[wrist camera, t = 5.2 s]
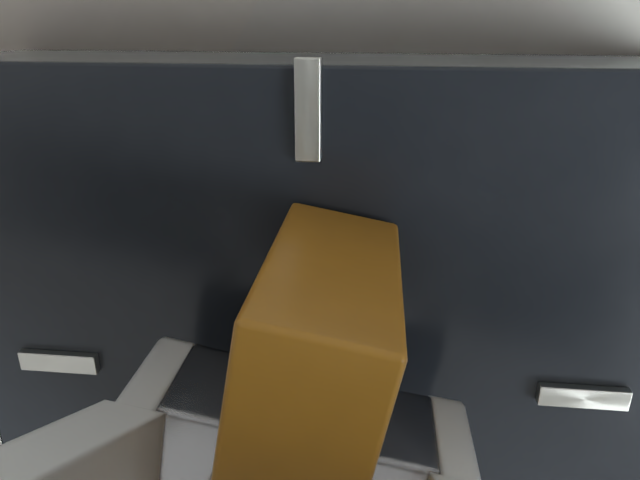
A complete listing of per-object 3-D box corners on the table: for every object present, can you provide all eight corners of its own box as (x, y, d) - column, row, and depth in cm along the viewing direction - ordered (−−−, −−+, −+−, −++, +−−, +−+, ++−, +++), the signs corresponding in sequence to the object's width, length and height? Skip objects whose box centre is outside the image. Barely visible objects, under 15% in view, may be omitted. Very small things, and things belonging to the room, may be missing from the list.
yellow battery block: (292, 199, 8) (226, 334, 5) (399, 222, 8) (410, 374, 5) (240, 496, 10) (169, 733, 7) (322, 515, 10) (292, 764, 7)
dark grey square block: (672, 49, 10) (799, 62, 7) (571, 494, 13) (623, 626, 10) (21, 44, 11) (-113, 53, 8) (97, 454, 15) (26, 563, 12)
